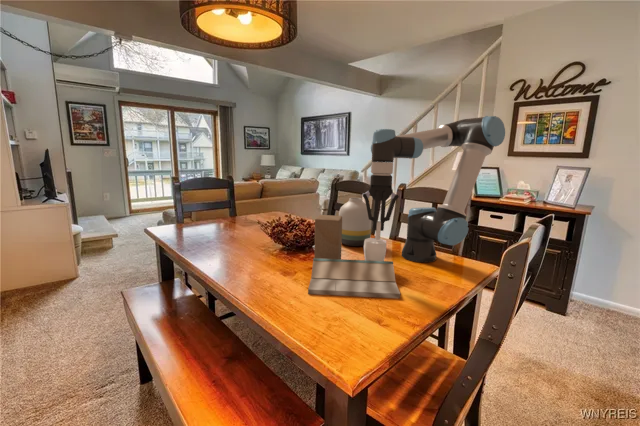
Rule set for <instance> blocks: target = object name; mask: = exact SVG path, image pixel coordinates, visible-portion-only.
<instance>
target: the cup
mask: <svg viewBox="0 0 640 426" xmlns="http://www.w3.org/2000/svg"><path fill="white" fill-rule="evenodd" d="M363 254H364V260H371V261H385V258H386V254H387V240H386V239H383V238H380V240H376V239H375V237H370V238H367V239H365V240H364V245H363Z"/></svg>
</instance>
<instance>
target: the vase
mask: <svg viewBox="0 0 640 426" xmlns="http://www.w3.org/2000/svg"><path fill="white" fill-rule="evenodd" d="M371 214H372V215H373V213H372V212H371ZM338 216H342V244H344V245H345V246H349V247H361V246H364V240H365V239H367V238H372V237H371V236H372V222H373V221H372V220H369V218H368V213H367V207H366V202H364V201H363V199H362V197H350V198H349V199H348V201H347V202H345V203H344V204H343V205H342V206H340V208H339V211H338Z"/></svg>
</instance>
